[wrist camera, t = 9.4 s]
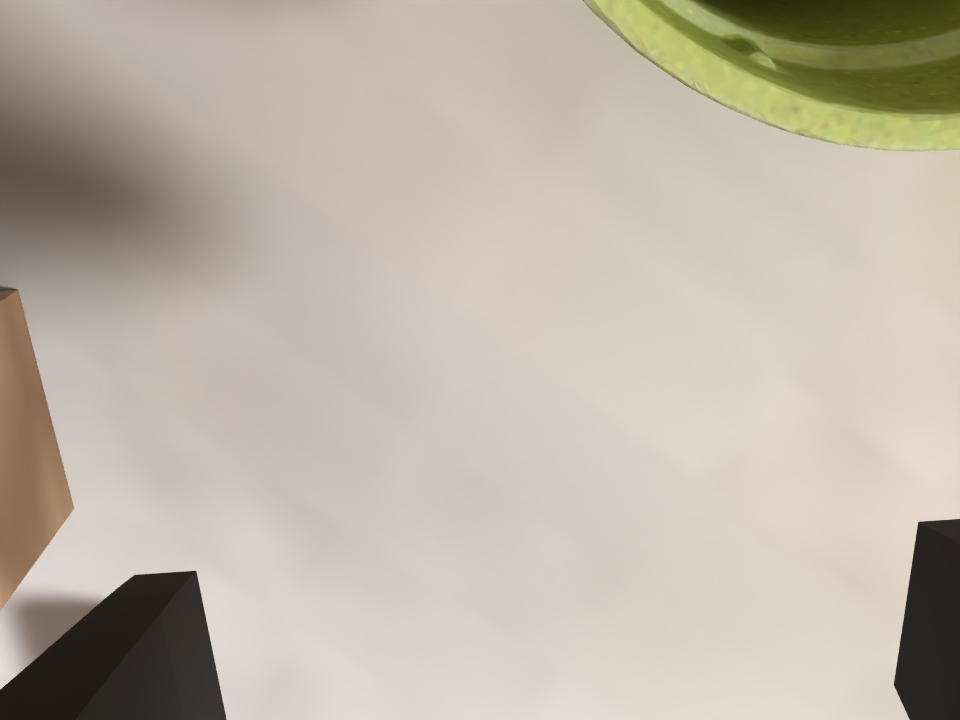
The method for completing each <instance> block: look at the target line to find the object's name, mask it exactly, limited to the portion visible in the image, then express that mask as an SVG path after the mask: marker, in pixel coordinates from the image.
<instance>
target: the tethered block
mask: <svg viewBox="0 0 960 720" xmlns="http://www.w3.org/2000/svg"><path fill="white" fill-rule="evenodd" d="M73 509H74V506H73V502H72V499H71V495H70V491H69V487H68V483H67V479H66V475H65V471H64V467H63V463H62V460H61V456H60V452H59V448H58V444H57V440H56V436H55V432H54V428H53V425H52V421H51V417H50V413H49V409H48V405H47V401H46V397H45V393H44V390H43V386H42V382H41V378H40V374H39V370H38V366H37V362H36V358H35V355H34V351H33V347H32V343H31V339H30V335H29V331H28V327H27V323H26V320H25V316H24V312H23V308H22V304H21V300H20V296H19V292H18V290H5V291H0V610H1V609H2V608H3V606H4V605H5V603H6V602H7V601H8V599H9V598H10V596H11V595H12V594H13V592H14V591H15V590H16V588H17V587H18V585H19V584H20V583H21V581H22V580H23V578H24V577H25V576H26V574H27V573H28V572H29V570H30V569H31V567H32V566H33V565H34V563H35V562H36V561H37V559H38V558H39V556H40V555H41V554H42V552H43V551H44V549H45V548H46V547H47V545H48V544H49V543H50V541H51V540H52V538H53V537H54V536H55V534H56V533H57V531H58V530H59V529H60V527H61V526H62V525H63V523H64V522H65V520H66V519H67V518H68V516H69V515H70V513H71V512H72V511H73Z"/></svg>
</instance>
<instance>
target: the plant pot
mask: <svg viewBox="0 0 960 720" xmlns="http://www.w3.org/2000/svg"><path fill="white" fill-rule="evenodd" d="M583 1H584V2H585V3H586V4H587V6H588V7H589V8H590V9H591V10H592V11H593V12H594V13H595V14H596V15H597V16H598V17H599V18H600V19H601V20H602V21H603V22H604V23H606V24H607V25H608V26H609V27H610V28H611V29H612V30H613V31H614V32H615V33H617V34H618V35H619V36H620V37H621V38H622V39H623V40H624V41H625V42H626V43H627V44H629V45H630V46H631V47H632V48H633V49H634V50H635V51H636V52H638V53H639V54H641V55H642V56H643V57H645V58H646V59H648V60H649V61H651V62H652V63H653V64H655V65H656V66H658V67H659V68H661V69H662V70H663V71H665V72H666V73H668V74H669V75H671V76H672V77H674V78H675V79H677V80H678V81H680V82H681V83H683V84H684V85H686V86H688V87H689V88H691V89H693V90H694V91H696V92H698V93H700V94H702V95H704V96H706V97H707V98H709V99H711V100H713V101H715V102H717V103H719V104H721V105H724V106H726V107H728V108H730V109H732V110H734V111H736V112H738V113H741V114H743V115H745V116H748V117H750V118H752V119H755V120H757V121H759V122H762V123H765V124H768V125H770V126H773V127H776V128H779V129H782V130H785V131H788V132H791V133H794V134H798V135H801V136H805V137H809V138H813V139H817V140H821V141H825V142H830V143H836V144H841V145H847V146H853V147H861V148H869V149H878V150H892V151H940V150H956V149H960V0H583Z"/></svg>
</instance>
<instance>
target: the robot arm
mask: <svg viewBox="0 0 960 720" xmlns="http://www.w3.org/2000/svg"><path fill="white" fill-rule="evenodd" d="M894 686H895V688H896V690H897V693H898V695H899V697H900V699H901V701H902V704H903V706H904V708H905V710H906V712H907V715H908V717H909V719H910V720H960V519H954V520H940V521H925V522H918V528H917V535H916V541H915V548H914V555H913V561H912V568H911V575H910V581H909V588H908V594H907V601H906V608H905V614H904V621H903V628H902V634H901V641H900V648H899V654H898V661H897V668H896V674H895V681H894ZM0 720H226V715H225V710H224V705H223V700H222V695H221V690H220V685H219V681H218V676H217V671H216V666H215V661H214V656H213V651H212V646H211V641H210V636H209V632H208V627H207V622H206V617H205V612H204V607H203V602H202V597H201V592H200V587H199V583H198V578H197V573H196V571H187V572H172V573H158V574H143V575H134V576H133V577H131V578H130V579H129V580H128V581H126V582H125V583H124V584H122V585H121V586H120V587H119V588H117V589H116V590H115V591H114V592H113V593H111V594H110V595H109V596H108V597H107V598H105V599H104V600H103V601H102V602H101V603H100V604H98V605H97V606H96V607H95V608H94V609H93V610H91V611H90V612H89V613H88V614H87V615H86V616H85V617H83V618H82V619H81V620H80V621H79V622H78V623H77V624H75V625H74V626H73V627H72V628H71V629H70V630H69V631H67V632H66V633H65V634H64V635H63V636H62V637H61V638H59V639H58V640H57V641H56V642H55V643H54V644H53V645H51V646H50V647H49V648H48V649H47V650H46V651H45V652H44V653H42V654H41V655H40V656H39V657H38V658H37V659H35V660H34V661H33V662H32V663H31V664H30V665H28V666H27V667H26V668H25V669H24V670H23V671H21V672H20V673H19V674H18V675H17V676H16V677H15V678H13V679H12V680H11V681H10V682H9V683H8V684H6V685H5V686H4V687H3V688H2V689H1V690H0Z"/></svg>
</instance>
